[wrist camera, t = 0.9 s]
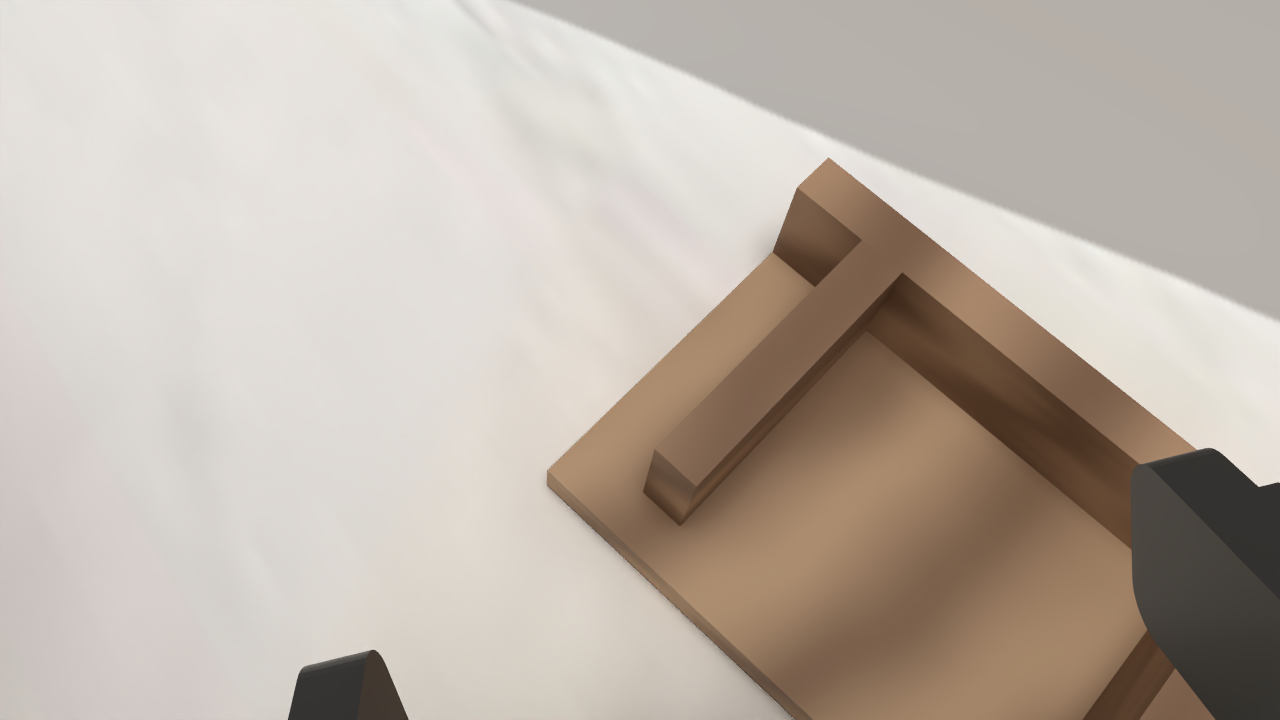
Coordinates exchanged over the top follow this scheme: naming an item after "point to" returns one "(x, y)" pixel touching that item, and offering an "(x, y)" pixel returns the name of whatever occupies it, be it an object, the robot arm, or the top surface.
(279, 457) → the top surface
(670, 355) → the rack
